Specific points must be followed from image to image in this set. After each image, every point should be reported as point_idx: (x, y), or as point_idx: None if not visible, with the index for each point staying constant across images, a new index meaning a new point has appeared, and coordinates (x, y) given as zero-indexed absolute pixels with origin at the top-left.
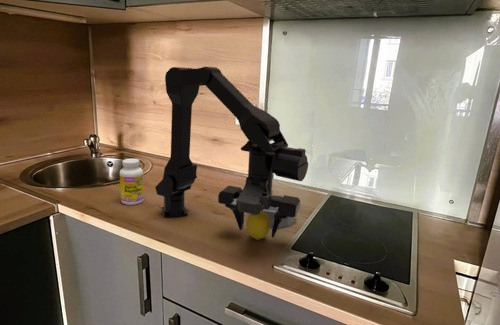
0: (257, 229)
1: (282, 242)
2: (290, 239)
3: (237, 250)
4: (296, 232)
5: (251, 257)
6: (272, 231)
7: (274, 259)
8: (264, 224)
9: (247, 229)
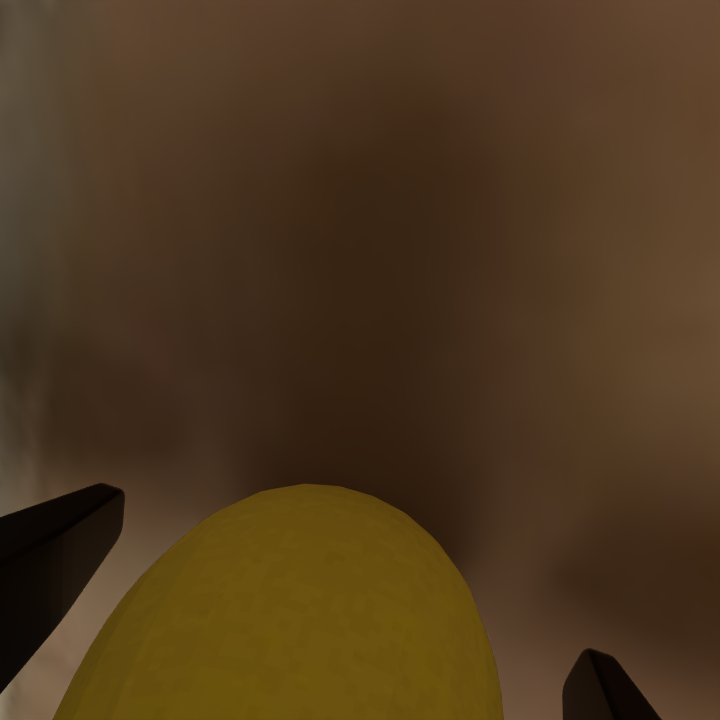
0: (275, 564)
1: None
2: None
3: (613, 251)
4: None
5: (392, 93)
6: (38, 534)
7: (93, 111)
8: (100, 672)
9: (486, 635)
